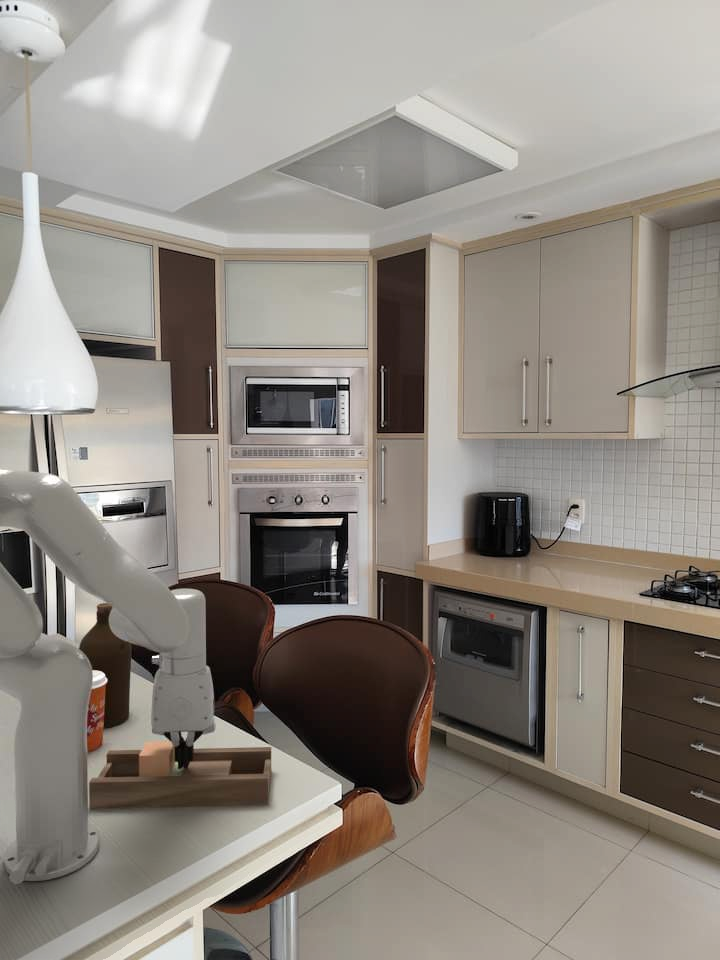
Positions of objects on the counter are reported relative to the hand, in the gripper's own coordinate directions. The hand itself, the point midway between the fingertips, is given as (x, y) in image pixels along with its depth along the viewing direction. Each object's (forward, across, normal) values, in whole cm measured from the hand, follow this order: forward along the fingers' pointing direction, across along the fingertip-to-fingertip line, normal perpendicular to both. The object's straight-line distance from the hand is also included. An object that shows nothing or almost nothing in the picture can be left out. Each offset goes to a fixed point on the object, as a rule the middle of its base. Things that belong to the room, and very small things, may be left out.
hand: (184, 764), depth 115 cm
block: (+1, -5, 0) cm, 5 cm away
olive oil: (+4, -22, +29) cm, 36 cm away
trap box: (+4, 0, 0) cm, 4 cm away
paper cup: (+4, -22, +17) cm, 28 cm away
